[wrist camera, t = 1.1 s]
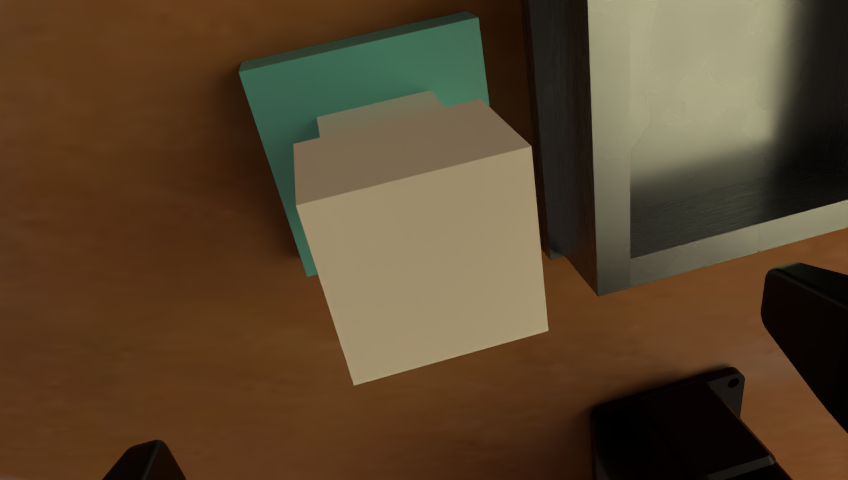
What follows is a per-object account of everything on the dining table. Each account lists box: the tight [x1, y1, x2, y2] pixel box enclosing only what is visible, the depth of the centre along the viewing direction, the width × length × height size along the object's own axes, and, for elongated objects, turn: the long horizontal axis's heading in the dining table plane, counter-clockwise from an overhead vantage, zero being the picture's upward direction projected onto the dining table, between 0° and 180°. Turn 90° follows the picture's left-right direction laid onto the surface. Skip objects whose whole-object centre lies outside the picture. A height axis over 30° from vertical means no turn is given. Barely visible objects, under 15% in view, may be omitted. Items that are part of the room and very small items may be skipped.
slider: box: [239, 11, 548, 385], centre depth 14 cm, size 6×6×7 cm
